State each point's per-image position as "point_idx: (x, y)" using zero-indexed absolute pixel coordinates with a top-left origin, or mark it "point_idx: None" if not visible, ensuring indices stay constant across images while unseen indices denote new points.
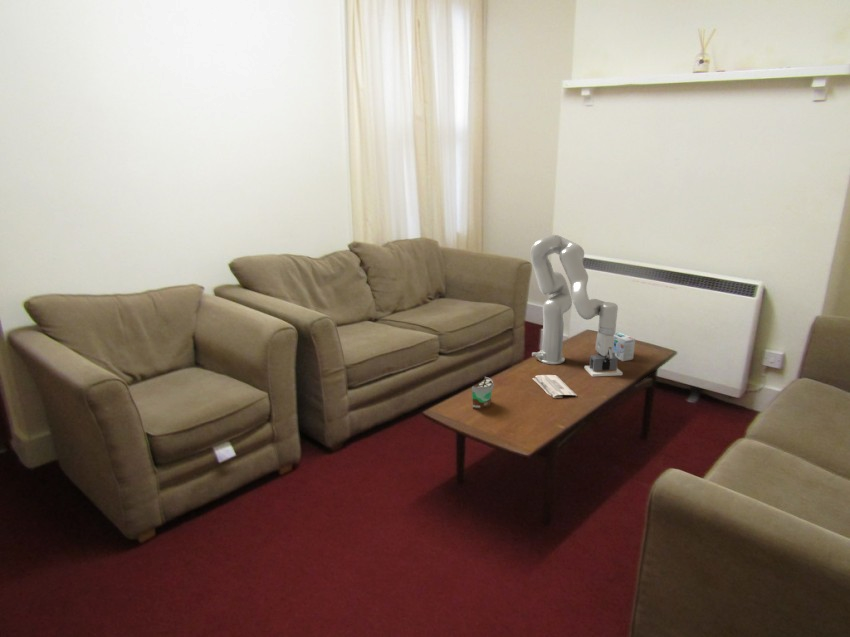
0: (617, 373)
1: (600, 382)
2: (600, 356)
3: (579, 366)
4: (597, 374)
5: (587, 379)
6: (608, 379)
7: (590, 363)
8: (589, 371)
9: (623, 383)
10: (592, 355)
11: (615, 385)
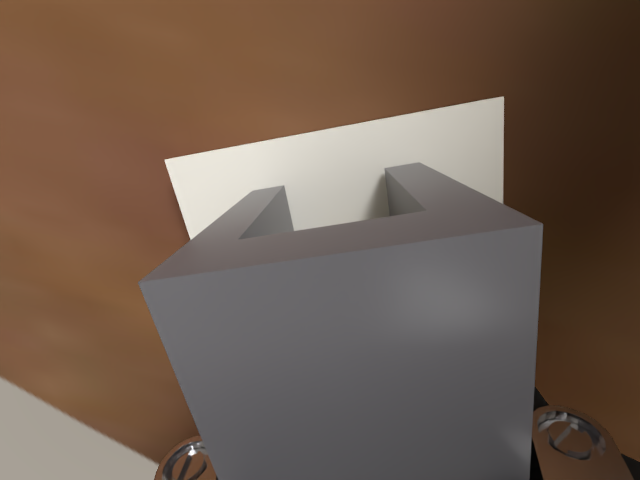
0: None
1: (29, 215)
2: (381, 473)
3: (571, 29)
4: (191, 227)
5: (71, 64)
6: (141, 316)
7: (398, 180)
8: (283, 137)
9: (80, 412)
10: (482, 288)
11: (6, 341)
